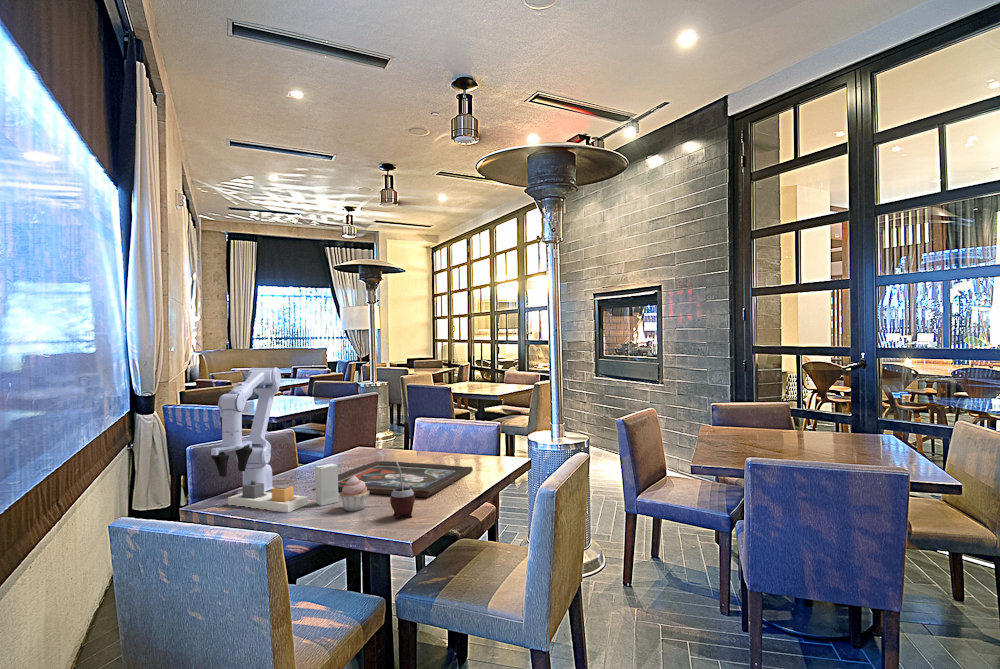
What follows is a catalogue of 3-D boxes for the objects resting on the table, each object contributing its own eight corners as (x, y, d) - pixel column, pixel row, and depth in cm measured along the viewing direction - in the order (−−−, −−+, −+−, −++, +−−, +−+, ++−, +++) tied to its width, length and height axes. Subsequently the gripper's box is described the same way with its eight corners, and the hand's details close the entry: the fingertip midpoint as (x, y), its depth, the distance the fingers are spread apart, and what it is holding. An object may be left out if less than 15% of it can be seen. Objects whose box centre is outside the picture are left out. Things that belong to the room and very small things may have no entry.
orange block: (281, 504, 182) (281, 484, 182) (293, 505, 181) (293, 485, 181) (272, 507, 179) (271, 487, 179) (284, 509, 177) (284, 488, 177)
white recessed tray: (249, 497, 190) (249, 489, 190) (308, 504, 182) (307, 496, 182) (228, 505, 182) (227, 497, 182) (288, 512, 173) (287, 503, 173)
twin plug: (252, 500, 187) (251, 479, 187) (264, 501, 185) (263, 480, 185) (242, 503, 183) (242, 482, 183) (254, 505, 181) (254, 483, 181)
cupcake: (373, 503, 181) (372, 472, 181) (366, 512, 172) (365, 479, 172) (343, 504, 181) (343, 472, 181) (335, 513, 172) (334, 480, 172)
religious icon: (431, 500, 185) (431, 490, 185) (314, 491, 199) (314, 482, 199) (476, 472, 223) (476, 465, 223) (375, 467, 237) (375, 460, 237)
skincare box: (332, 499, 186) (332, 462, 186) (339, 502, 183) (338, 464, 183) (314, 503, 182) (314, 465, 182) (321, 506, 179) (320, 467, 179)
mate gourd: (406, 521, 163) (405, 469, 163) (383, 518, 166) (382, 467, 166) (420, 513, 170) (419, 463, 170) (397, 511, 173) (396, 461, 173)
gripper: (223, 435, 174) (223, 479, 174) (258, 428, 188) (259, 469, 188) (205, 434, 177) (206, 478, 177) (242, 427, 190) (242, 467, 190)
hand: (232, 473), depth 182 cm, fingers open, 7 cm apart
